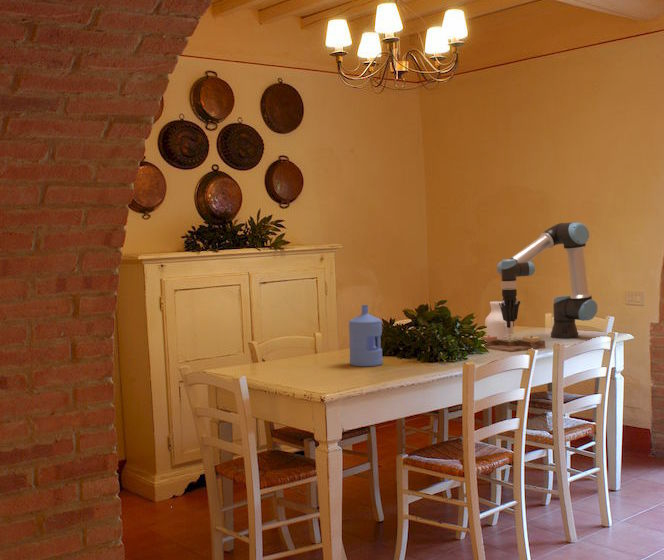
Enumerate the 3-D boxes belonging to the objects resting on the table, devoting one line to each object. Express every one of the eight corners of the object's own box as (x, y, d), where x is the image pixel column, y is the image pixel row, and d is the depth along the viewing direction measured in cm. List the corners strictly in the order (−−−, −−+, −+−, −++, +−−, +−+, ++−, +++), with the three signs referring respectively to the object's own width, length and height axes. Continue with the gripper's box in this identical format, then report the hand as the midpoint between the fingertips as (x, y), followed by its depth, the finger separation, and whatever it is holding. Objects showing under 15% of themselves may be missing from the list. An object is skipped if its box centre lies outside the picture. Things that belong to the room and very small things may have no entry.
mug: (515, 340, 471) (514, 321, 471) (506, 341, 466) (506, 323, 465) (497, 338, 480) (496, 320, 479) (488, 340, 474) (488, 322, 474)
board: (509, 342, 463) (509, 336, 462) (545, 347, 439) (545, 340, 439) (475, 346, 451) (475, 339, 451) (510, 352, 427) (510, 345, 427)
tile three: (531, 341, 445) (531, 335, 445) (539, 342, 440) (539, 336, 440) (523, 342, 442) (523, 336, 442) (531, 343, 437) (531, 337, 437)
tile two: (489, 340, 453) (489, 335, 453) (497, 341, 448) (496, 336, 447) (480, 341, 450) (480, 336, 450) (488, 342, 445) (488, 337, 444)
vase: (512, 337, 484) (511, 302, 482) (487, 338, 484) (486, 303, 483) (507, 334, 498) (506, 300, 497) (483, 335, 498) (482, 301, 497)
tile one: (510, 342, 449) (510, 337, 449) (518, 343, 444) (518, 338, 444) (501, 343, 446) (501, 338, 446) (509, 344, 441) (509, 339, 441)
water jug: (345, 366, 396) (343, 306, 395) (355, 361, 411) (354, 303, 409) (377, 367, 391) (375, 307, 389) (386, 362, 406) (385, 303, 404)
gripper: (513, 287, 450) (515, 331, 451) (494, 289, 443) (496, 334, 445) (523, 288, 443) (524, 333, 445) (504, 290, 437) (506, 335, 438)
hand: (510, 333), depth 445 cm, fingers closed
